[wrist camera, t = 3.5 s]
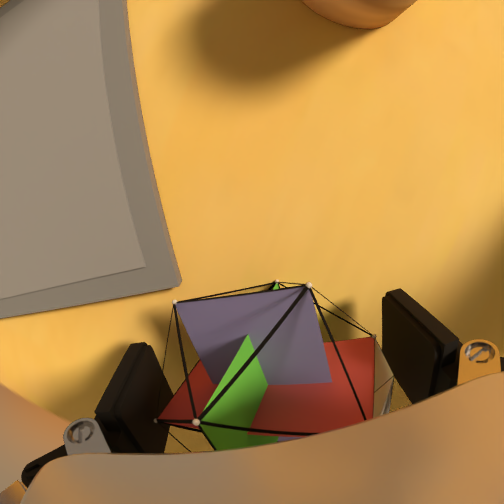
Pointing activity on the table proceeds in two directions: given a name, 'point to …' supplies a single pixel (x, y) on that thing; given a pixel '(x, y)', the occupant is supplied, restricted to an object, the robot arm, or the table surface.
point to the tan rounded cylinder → (360, 11)
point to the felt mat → (75, 161)
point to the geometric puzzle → (272, 370)
